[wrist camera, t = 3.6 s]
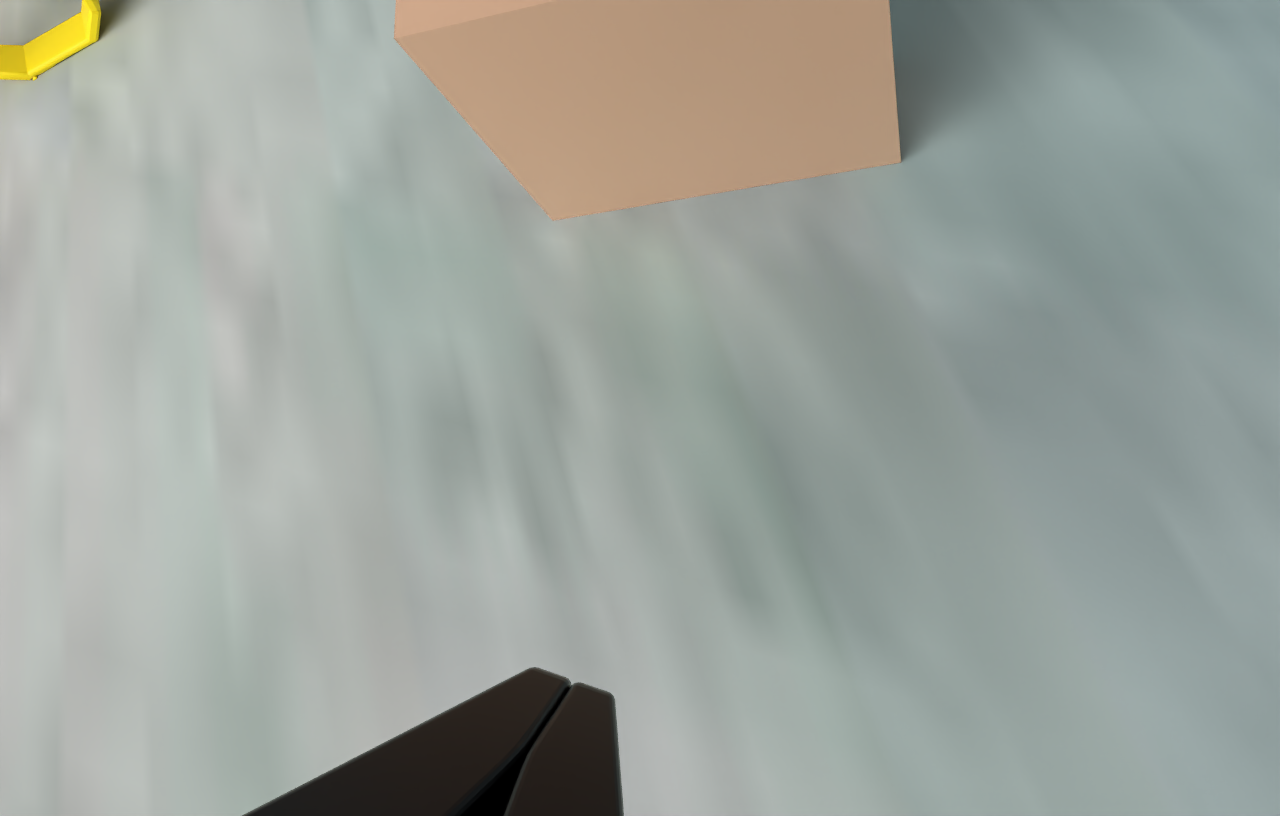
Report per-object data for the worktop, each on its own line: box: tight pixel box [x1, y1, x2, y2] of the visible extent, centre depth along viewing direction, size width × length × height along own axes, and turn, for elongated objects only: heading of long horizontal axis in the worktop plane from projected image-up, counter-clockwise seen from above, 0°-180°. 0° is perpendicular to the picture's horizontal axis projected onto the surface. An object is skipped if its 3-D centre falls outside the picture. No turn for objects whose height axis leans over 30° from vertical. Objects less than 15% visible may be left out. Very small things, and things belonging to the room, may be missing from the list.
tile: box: [394, 0, 901, 221], centre depth 21 cm, size 3×9×8 cm, turn 92°
